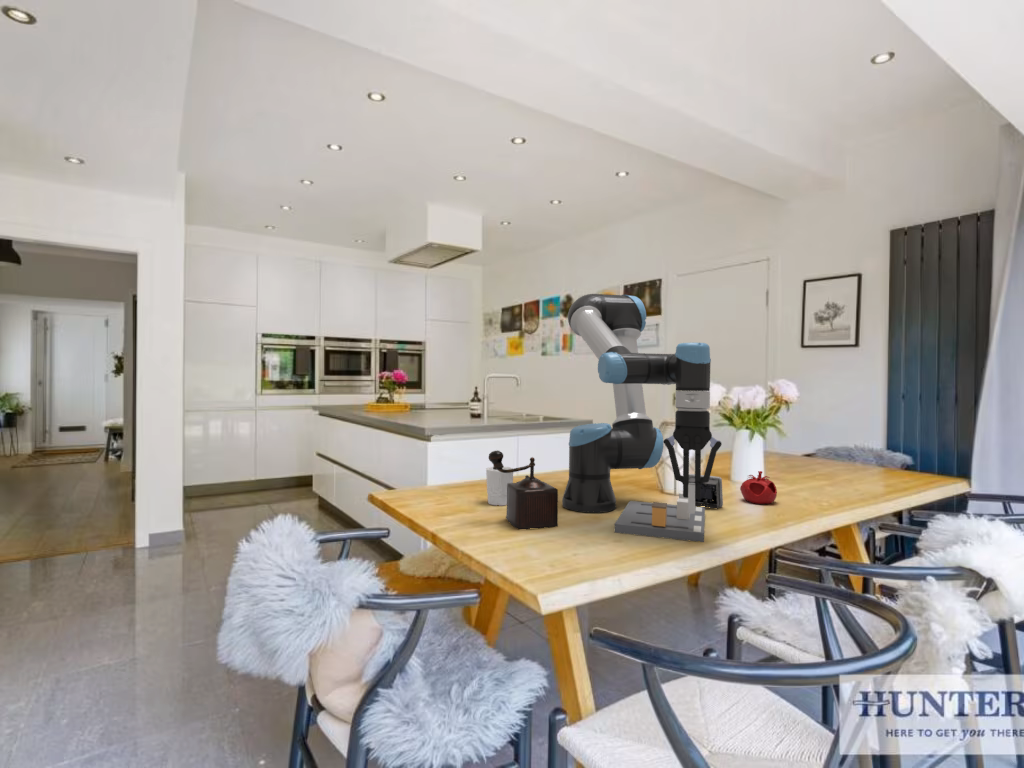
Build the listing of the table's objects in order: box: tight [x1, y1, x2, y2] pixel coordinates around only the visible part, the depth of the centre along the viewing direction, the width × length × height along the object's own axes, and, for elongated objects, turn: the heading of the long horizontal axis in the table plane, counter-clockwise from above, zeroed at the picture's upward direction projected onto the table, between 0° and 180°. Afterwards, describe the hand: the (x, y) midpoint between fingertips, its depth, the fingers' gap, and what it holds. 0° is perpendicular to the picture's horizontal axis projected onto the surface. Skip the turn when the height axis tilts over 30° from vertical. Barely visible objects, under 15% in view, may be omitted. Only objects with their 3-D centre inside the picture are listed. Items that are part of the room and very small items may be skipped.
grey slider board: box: [614, 490, 706, 543], centre depth 136 cm, size 20×26×6 cm
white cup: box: [485, 466, 514, 507], centre depth 156 cm, size 8×8×10 cm
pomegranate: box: [739, 471, 778, 505], centre depth 161 cm, size 10×10×9 cm
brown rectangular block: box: [652, 501, 668, 527], centre depth 127 cm, size 3×4×5 cm
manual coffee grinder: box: [488, 449, 559, 530], centre depth 134 cm, size 16×11×18 cm
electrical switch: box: [689, 473, 724, 510], centre depth 154 cm, size 9×5×9 cm, turn 57°
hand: (691, 511), depth 124 cm, fingers closed
